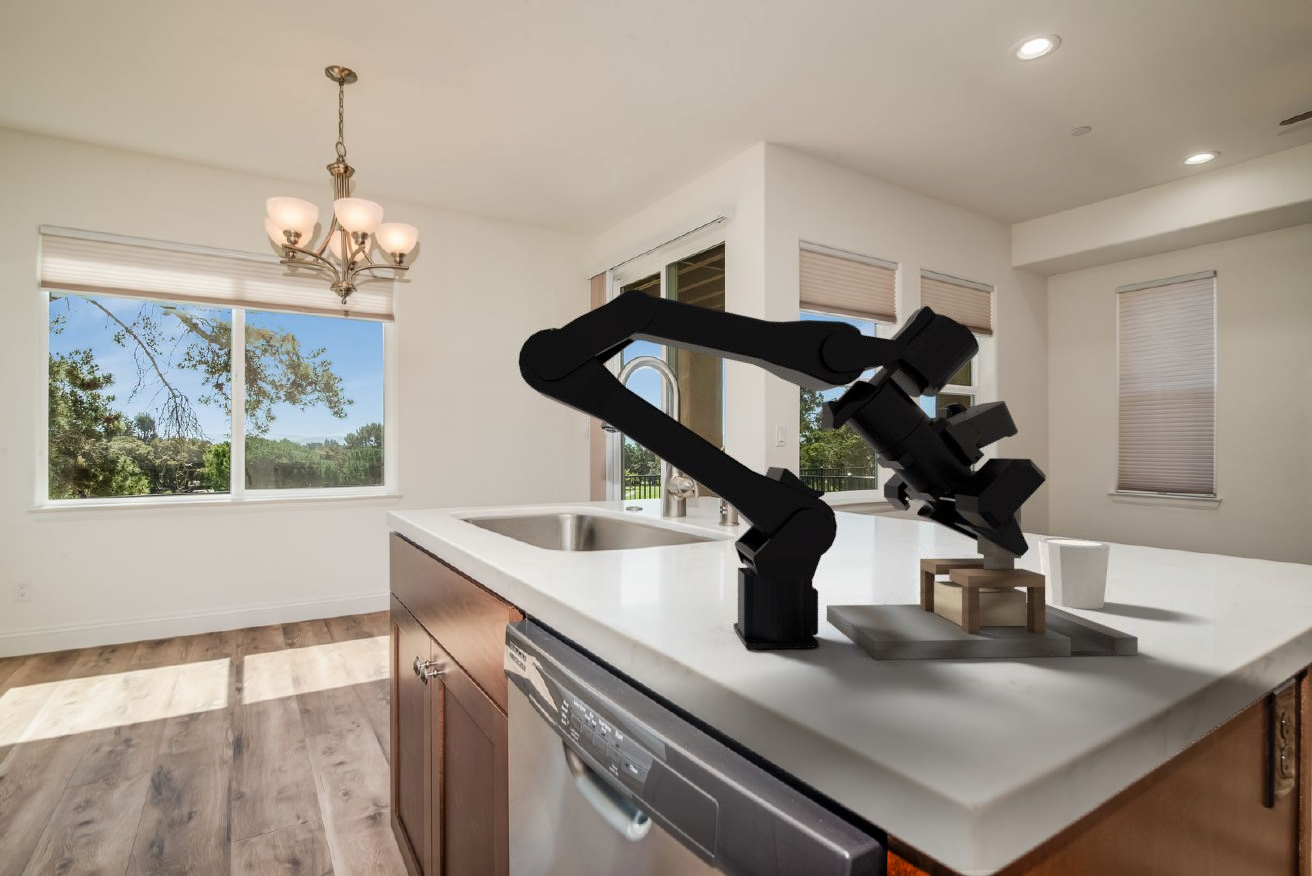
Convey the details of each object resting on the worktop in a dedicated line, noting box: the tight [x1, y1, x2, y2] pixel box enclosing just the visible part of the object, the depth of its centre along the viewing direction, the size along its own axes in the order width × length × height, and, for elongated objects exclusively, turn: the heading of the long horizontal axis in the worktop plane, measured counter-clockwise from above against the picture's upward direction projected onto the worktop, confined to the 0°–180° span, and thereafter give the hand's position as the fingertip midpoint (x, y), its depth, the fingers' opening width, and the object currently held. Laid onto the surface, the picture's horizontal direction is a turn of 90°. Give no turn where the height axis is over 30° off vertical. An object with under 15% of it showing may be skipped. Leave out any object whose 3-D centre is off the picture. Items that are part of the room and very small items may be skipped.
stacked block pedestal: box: [934, 506, 1027, 626], centre depth 59 cm, size 6×5×12 cm
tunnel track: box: [826, 557, 1139, 660], centre depth 59 cm, size 23×12×6 cm, turn 94°
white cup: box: [1037, 537, 1111, 610], centre depth 72 cm, size 7×7×7 cm
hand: (1012, 549), depth 59 cm, fingers closed on stacked block pedestal, 3 cm apart
